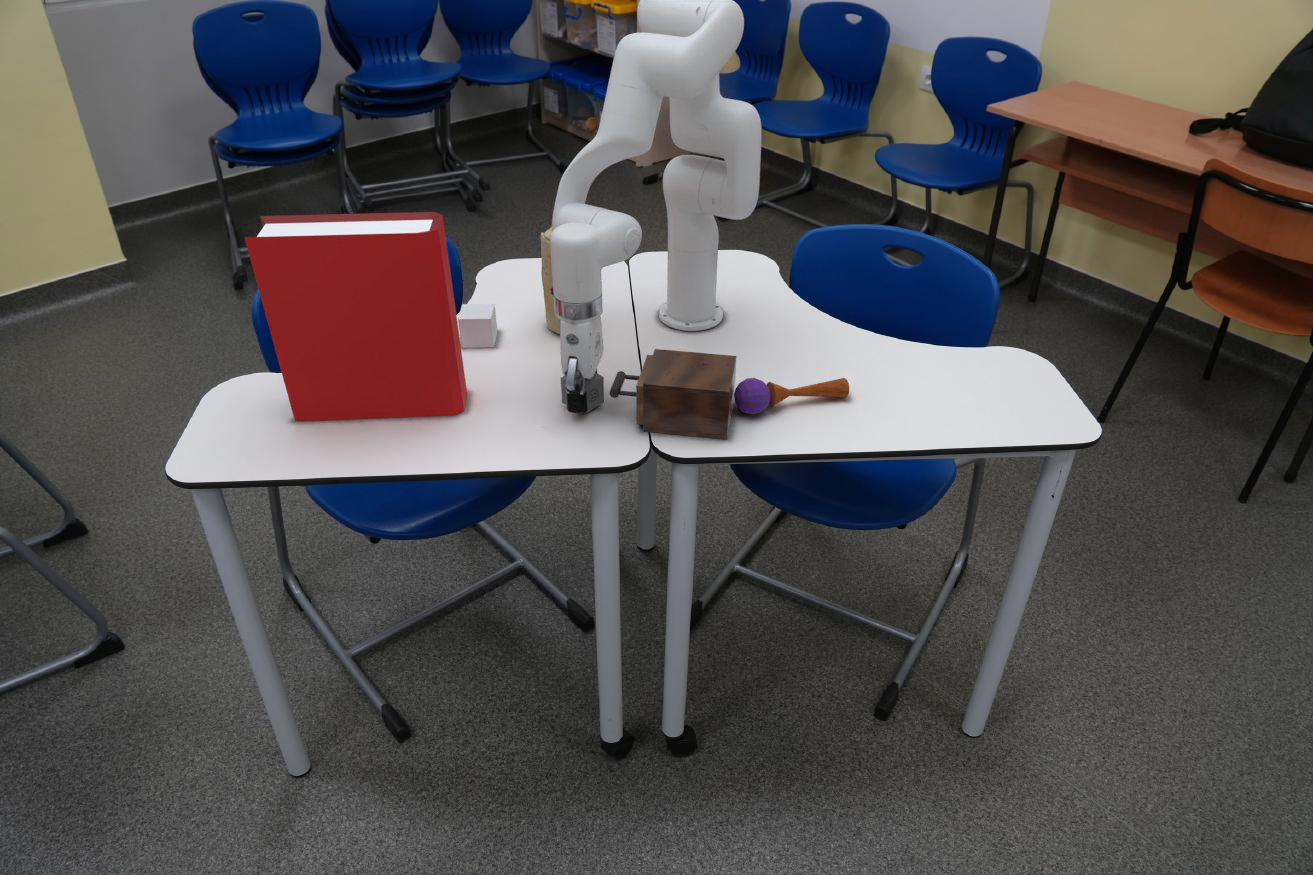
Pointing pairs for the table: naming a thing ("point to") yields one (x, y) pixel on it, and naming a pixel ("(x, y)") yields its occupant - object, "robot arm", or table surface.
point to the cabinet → (689, 394)
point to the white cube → (477, 325)
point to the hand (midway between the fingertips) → (583, 398)
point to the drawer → (638, 394)
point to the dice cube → (587, 390)
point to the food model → (548, 282)
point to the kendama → (782, 393)
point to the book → (361, 314)
